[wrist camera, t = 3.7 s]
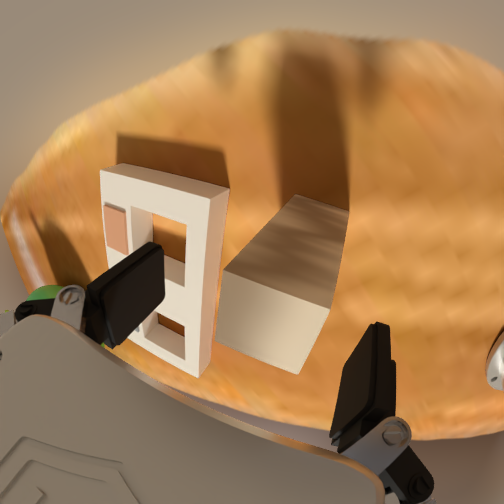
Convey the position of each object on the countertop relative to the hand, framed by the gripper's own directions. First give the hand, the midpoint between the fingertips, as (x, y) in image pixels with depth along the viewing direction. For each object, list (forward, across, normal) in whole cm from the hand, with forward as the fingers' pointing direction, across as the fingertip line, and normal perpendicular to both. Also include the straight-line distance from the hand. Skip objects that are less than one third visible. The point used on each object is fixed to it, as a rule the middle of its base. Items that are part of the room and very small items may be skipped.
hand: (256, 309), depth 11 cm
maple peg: (+10, -1, 0) cm, 10 cm away
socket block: (+10, +12, +10) cm, 19 cm away
